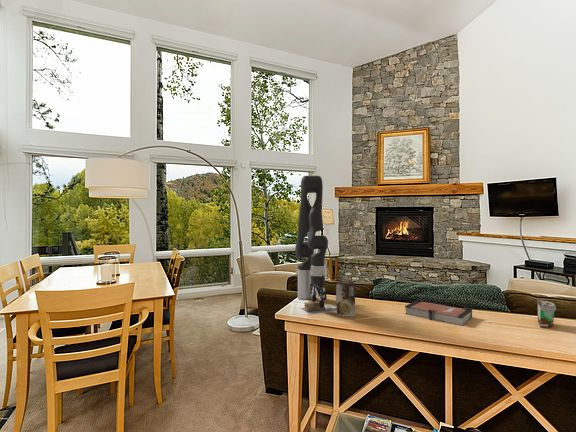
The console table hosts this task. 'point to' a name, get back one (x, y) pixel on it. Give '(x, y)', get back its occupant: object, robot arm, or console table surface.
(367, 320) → the console table surface
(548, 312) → the food container
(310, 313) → the slate mat
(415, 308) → the book
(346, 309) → the coffee box
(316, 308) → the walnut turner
